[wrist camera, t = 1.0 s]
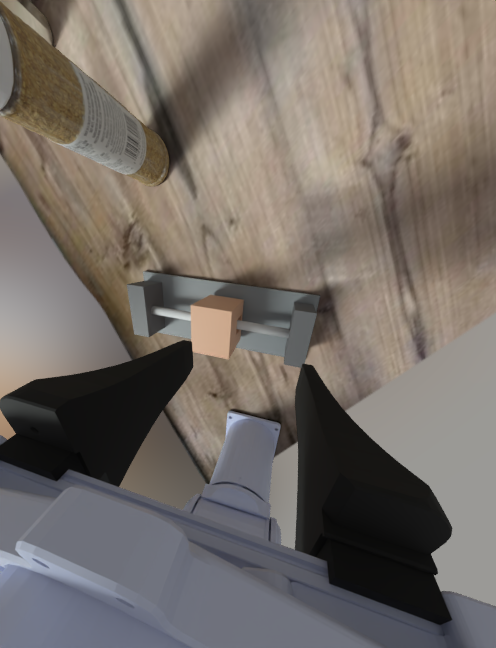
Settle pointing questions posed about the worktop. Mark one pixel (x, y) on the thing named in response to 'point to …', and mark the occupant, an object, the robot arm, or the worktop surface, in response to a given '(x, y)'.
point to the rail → (256, 326)
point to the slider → (216, 325)
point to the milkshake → (30, 17)
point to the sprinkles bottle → (72, 106)
